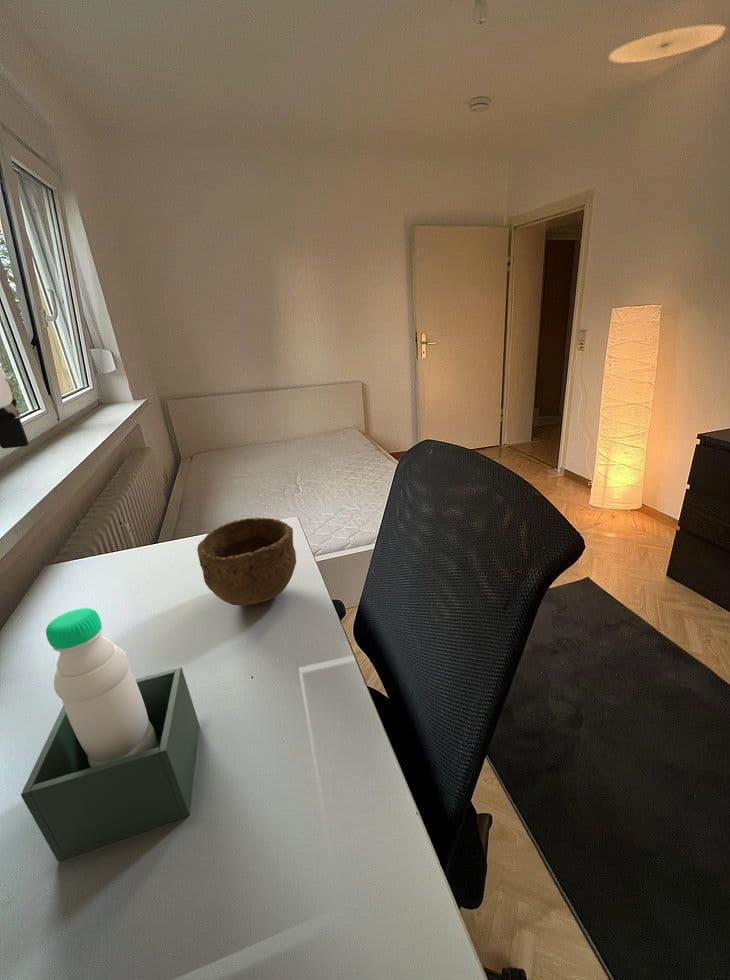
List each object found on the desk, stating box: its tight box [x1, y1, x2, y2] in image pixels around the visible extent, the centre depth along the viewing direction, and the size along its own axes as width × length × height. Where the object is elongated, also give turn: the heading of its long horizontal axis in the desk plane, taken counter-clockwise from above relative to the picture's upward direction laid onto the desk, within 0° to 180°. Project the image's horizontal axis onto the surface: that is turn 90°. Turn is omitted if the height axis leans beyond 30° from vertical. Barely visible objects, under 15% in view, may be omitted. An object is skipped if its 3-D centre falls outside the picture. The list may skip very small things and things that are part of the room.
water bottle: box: [45, 607, 160, 768], centre depth 52 cm, size 7×7×25 cm
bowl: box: [196, 517, 297, 606], centre depth 92 cm, size 19×19×15 cm
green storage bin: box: [20, 666, 200, 862], centre depth 55 cm, size 14×14×11 cm
